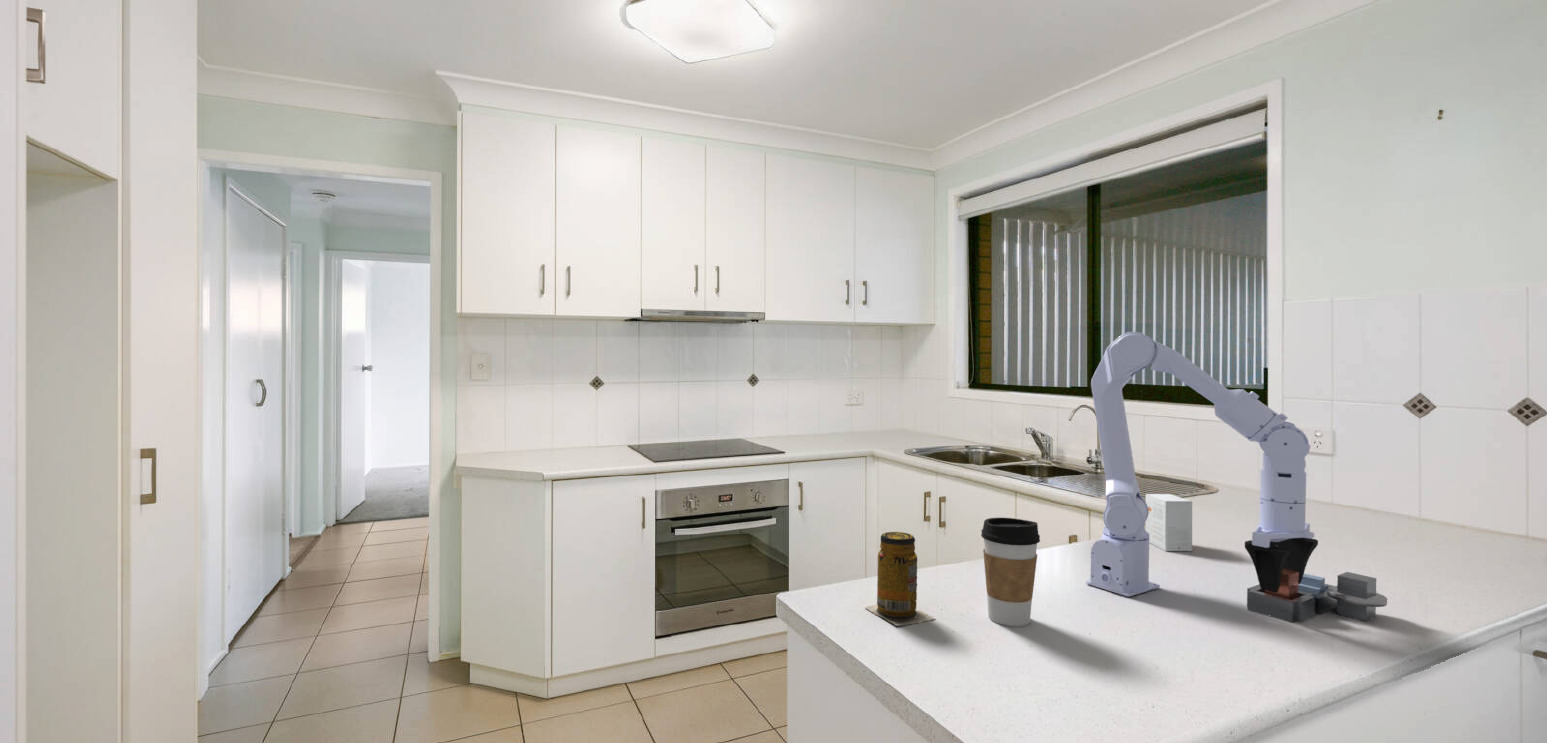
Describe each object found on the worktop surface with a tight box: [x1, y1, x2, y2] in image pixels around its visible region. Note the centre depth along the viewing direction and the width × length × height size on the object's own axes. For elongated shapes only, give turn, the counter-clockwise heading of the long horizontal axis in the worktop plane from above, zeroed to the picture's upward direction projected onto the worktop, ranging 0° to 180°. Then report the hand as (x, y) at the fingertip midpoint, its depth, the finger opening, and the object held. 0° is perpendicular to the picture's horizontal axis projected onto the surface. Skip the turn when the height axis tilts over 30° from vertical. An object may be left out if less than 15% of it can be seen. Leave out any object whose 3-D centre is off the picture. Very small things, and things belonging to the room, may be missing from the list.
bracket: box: [1298, 573, 1327, 595], centre depth 110 cm, size 4×6×4 cm, turn 36°
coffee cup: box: [980, 517, 1041, 627], centre depth 101 cm, size 8×8×15 cm
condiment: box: [864, 531, 936, 626], centre depth 103 cm, size 7×8×12 cm
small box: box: [1145, 493, 1193, 552], centre depth 142 cm, size 8×6×10 cm
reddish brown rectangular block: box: [1265, 569, 1299, 600], centre depth 105 cm, size 3×3×6 cm
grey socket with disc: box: [1246, 571, 1388, 623], centre depth 105 cm, size 17×14×6 cm
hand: (1280, 586), depth 105 cm, fingers open, 7 cm apart
